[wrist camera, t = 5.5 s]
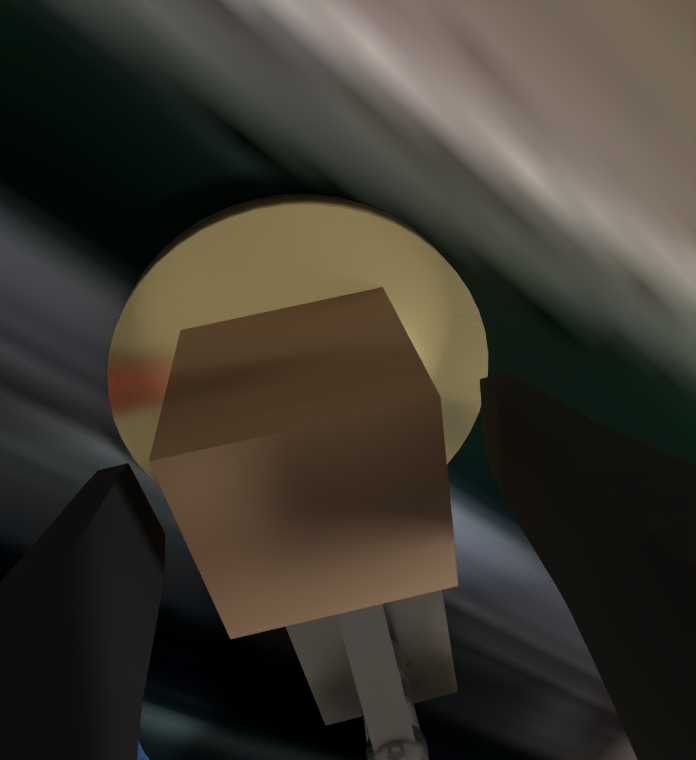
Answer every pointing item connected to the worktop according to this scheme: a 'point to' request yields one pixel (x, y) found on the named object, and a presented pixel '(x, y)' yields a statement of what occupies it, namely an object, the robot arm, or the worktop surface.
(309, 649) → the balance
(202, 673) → the worktop surface
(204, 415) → the block
